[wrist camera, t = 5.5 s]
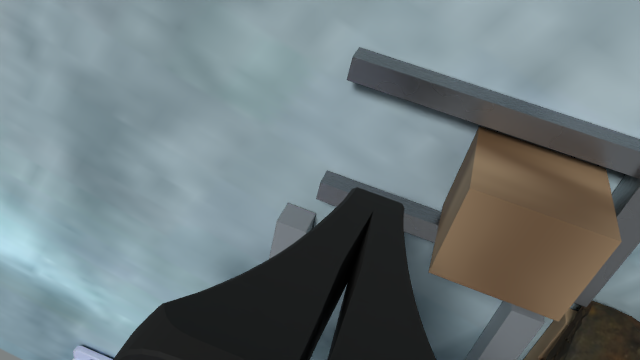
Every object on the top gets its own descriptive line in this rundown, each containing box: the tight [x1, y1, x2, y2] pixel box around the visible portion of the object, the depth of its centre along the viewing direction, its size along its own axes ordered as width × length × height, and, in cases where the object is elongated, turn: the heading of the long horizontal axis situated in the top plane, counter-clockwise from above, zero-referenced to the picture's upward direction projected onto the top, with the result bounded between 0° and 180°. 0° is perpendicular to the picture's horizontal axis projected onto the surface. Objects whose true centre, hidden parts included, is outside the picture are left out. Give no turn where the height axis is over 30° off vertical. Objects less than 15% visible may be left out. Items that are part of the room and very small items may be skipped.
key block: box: [429, 126, 622, 322], centre depth 16 cm, size 4×3×4 cm
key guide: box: [316, 47, 640, 307], centre depth 17 cm, size 10×6×1 cm, turn 79°
